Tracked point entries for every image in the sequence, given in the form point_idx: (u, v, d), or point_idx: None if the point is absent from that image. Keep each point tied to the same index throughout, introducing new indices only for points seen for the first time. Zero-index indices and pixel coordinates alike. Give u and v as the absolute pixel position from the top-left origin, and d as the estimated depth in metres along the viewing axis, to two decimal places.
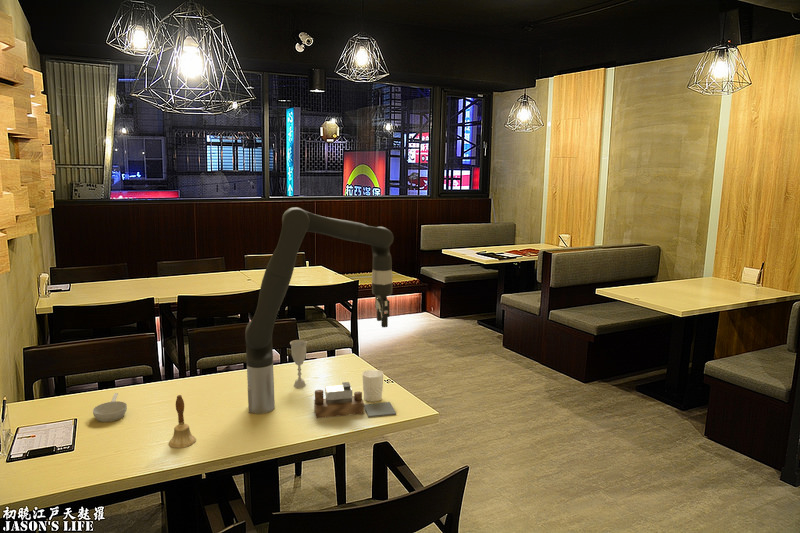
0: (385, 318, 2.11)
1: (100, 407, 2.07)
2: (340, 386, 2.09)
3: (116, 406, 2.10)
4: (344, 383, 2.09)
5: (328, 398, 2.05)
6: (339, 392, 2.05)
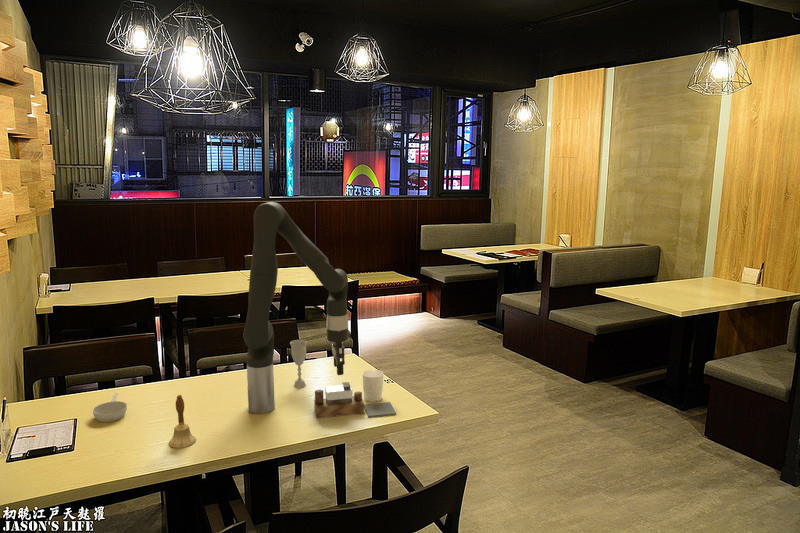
0: (340, 366, 2.01)
1: (100, 407, 2.07)
2: (340, 386, 2.09)
3: (116, 406, 2.10)
4: (344, 383, 2.09)
5: (328, 398, 2.05)
6: (339, 392, 2.05)
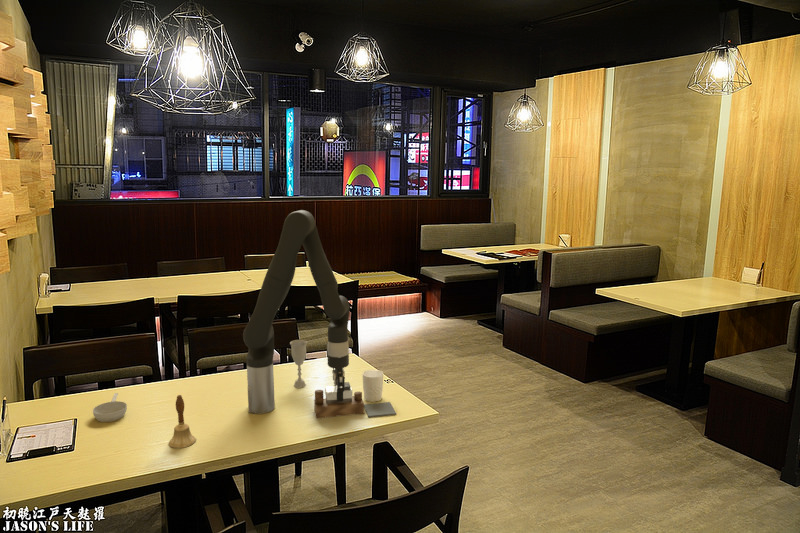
0: (340, 392, 2.04)
1: (100, 407, 2.07)
2: (340, 386, 2.09)
3: (116, 406, 2.10)
4: None
5: (328, 398, 2.05)
6: None
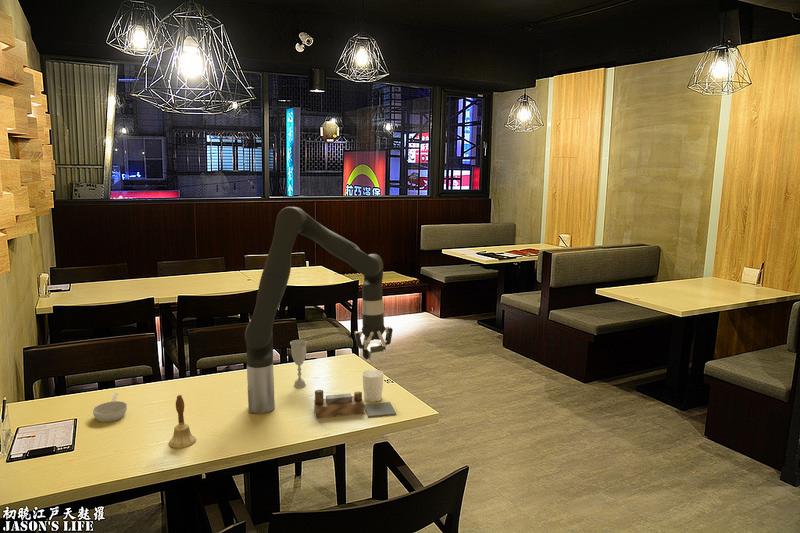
0: (363, 349, 2.04)
1: (100, 407, 2.07)
2: None
3: (117, 406, 2.10)
4: (378, 346, 2.04)
5: None
6: None
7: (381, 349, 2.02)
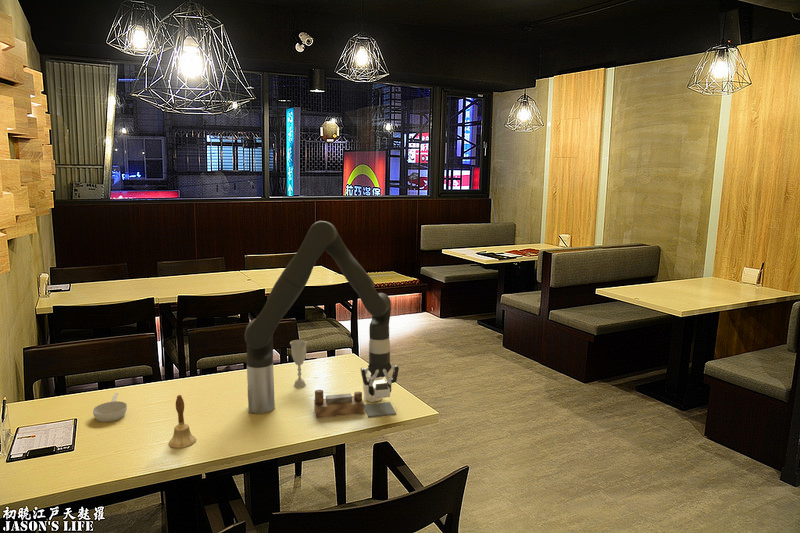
0: (368, 386, 2.08)
1: (100, 407, 2.07)
2: None
3: (117, 406, 2.10)
4: (383, 383, 2.07)
5: None
6: None
7: (385, 387, 2.06)
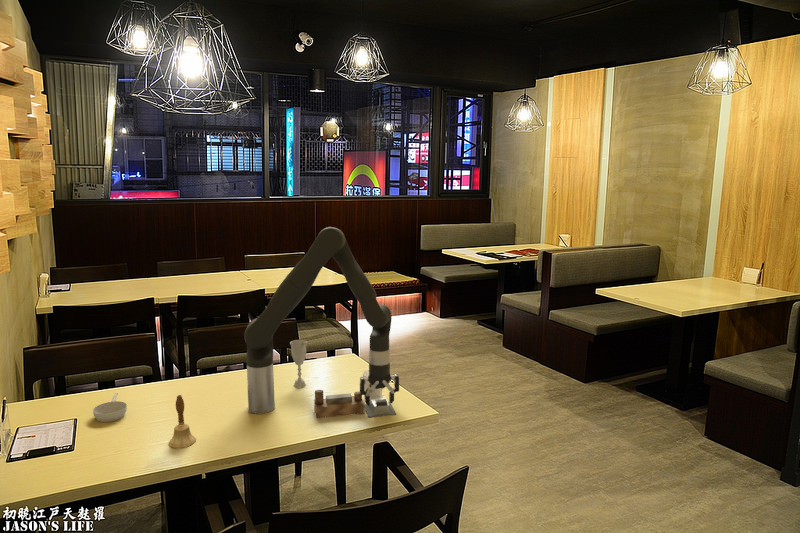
0: (365, 395, 2.08)
1: (100, 407, 2.07)
2: None
3: (117, 406, 2.10)
4: (383, 400, 2.08)
5: None
6: (371, 402, 2.10)
7: (385, 403, 2.07)
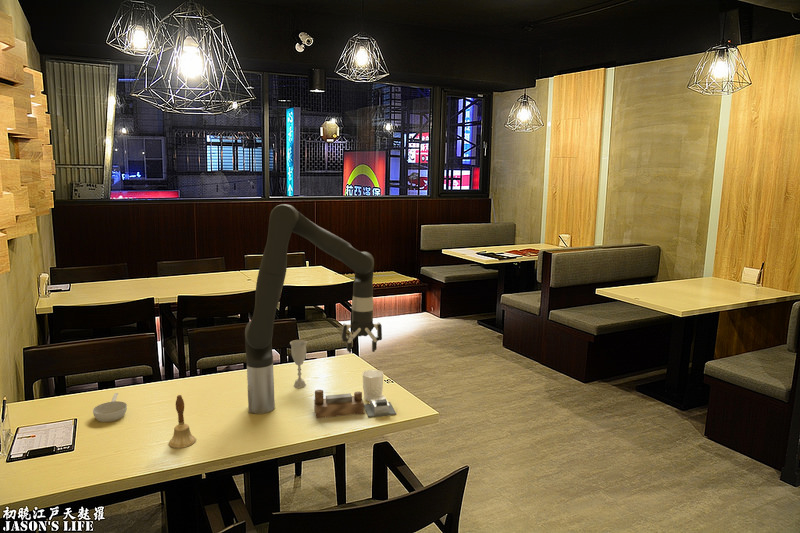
0: (347, 342, 2.08)
1: (100, 407, 2.07)
2: None
3: (117, 406, 2.10)
4: (383, 400, 2.08)
5: None
6: (371, 402, 2.10)
7: (385, 403, 2.07)
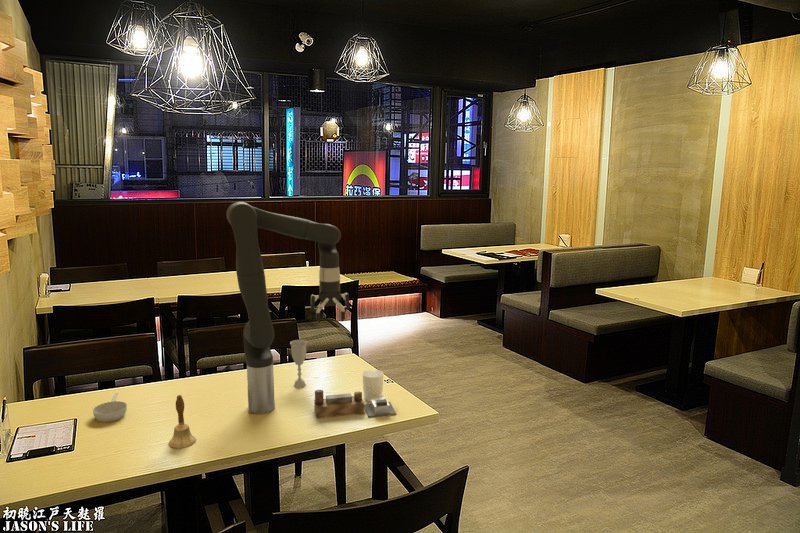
0: None
1: (100, 407, 2.07)
2: None
3: (117, 406, 2.10)
4: (383, 400, 2.08)
5: None
6: (371, 402, 2.10)
7: (385, 403, 2.07)
